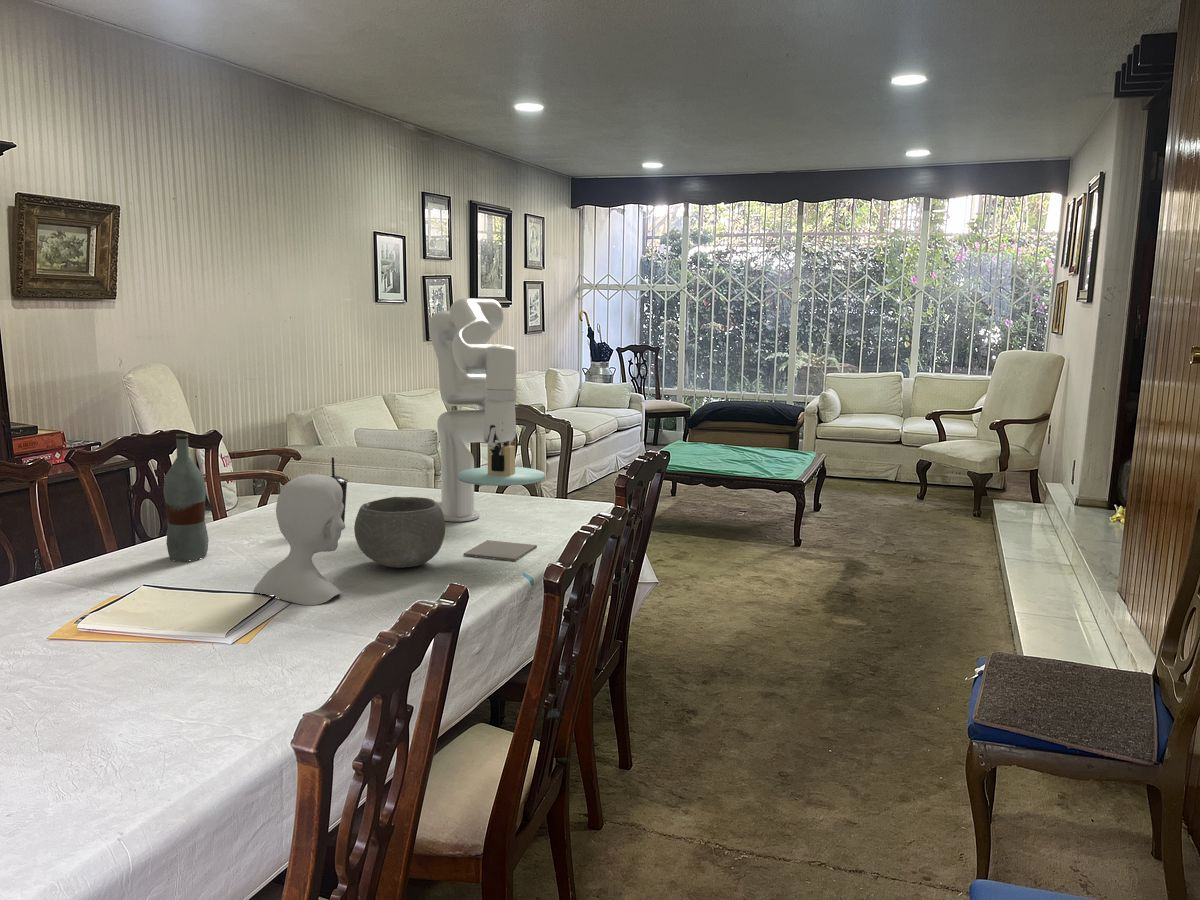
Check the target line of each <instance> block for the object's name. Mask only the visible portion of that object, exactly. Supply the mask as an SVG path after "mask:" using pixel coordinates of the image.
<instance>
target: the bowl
mask: <svg viewBox="0 0 1200 900" xmlns="http://www.w3.org/2000/svg"><path fill="white" fill-rule="evenodd" d="M436 502H437V501H435V500H434V499H431V498H428V497H420V496H417V497H416V496H391V497H386V498H381V499H375V500H371V501H368V502H365V503H363V504H362V505H361V506H360V507H359V509H358V512H357V515H356V517H355V520H354V537H355V541H356V544H357V547H358V548H359V549H360V551H361V552H362V553H363V555H364V556H365V557H367V558H369V559H371V560H372V561H373V562H375V563H377V564H378V565H381V566H384V567H388V568H397V569H398V568H413V567H418V566H420V565H424V564H426V563H427V562H429V561H431V560H432V559H433V558H434V557H435V556H436V555H437V554H438V553H439V551H440V550H441V547H442V544H443V543H444V542H443V541H444V539H445V535H446V521H445V520H444V515H443V512H442V510H441V508H440V506H439V505H438V504H437V503H436Z"/></svg>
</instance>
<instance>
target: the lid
mask: <svg viewBox="0 0 1200 900" xmlns="http://www.w3.org/2000/svg"><path fill="white" fill-rule="evenodd" d="M496 446H498V447H499V445H496ZM503 455H504V471H502V472H501V471H492V467H491V450H490V448H489V447H488V446H487V467H483V466H482V467H474V469H468V470H464V471H461V472H459V473H458V480H460V481H462V482H465V483H469V484H474V485H477V486H487V487H488V486H491V487H492V486H493V487H494V486H495V487H498V486H499V487H501V486H502V487H506V486H507V487H511V486H523V485H531V484H536V483H538V482H539V483H540V482H542V481H544V480H545V479H546V477H545V476H546V474H545V472H544V471H542V470H538V469H535V468H529V467H521V466H520V467H519V466H516V445H511V446H508V445H503Z"/></svg>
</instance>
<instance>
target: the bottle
mask: <svg viewBox="0 0 1200 900" xmlns="http://www.w3.org/2000/svg"><path fill="white" fill-rule="evenodd" d="M188 436H189V434H187V433H177V434H175V437H176V439H175V440H176V458H175V460H174V461H173V463H172V464H171V466H170V468H169V469H168V471H167V473H166V474H165V477H164V480H163V490H162V491H163V496H164V503H165V509H166V517H167V532H166V549H167V552H168V553H167V554H168V557H169V559H170V561H172V560H175V561H174V562H177V561H189V560H196V559H200V558H203V557H205V556H206V557H207V554H208V550H209V535H208V530H207V526H206V525H207V524H206V519H205V518H206V497H207V496H206V495H207V488H206V482H205V477H204V474H203V473H202V471H201V470H200V469H199V467H198V466H197V464H196V463H194V461H193V460H192V458H191V457H190V452H189V438H188ZM206 557H205V558H206ZM203 559H204V558H203ZM200 560H201V559H200ZM196 561H197V560H196Z"/></svg>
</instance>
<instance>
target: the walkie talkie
mask: <svg viewBox="0 0 1200 900" xmlns="http://www.w3.org/2000/svg"><path fill="white" fill-rule="evenodd" d="M329 476H330V477H332V478H334V479H335V480H336V481H337V482H338V483H339V484H340V486H341V488H342V491H343V499H342V503H343V504H344V509H343V512H342V515H341V518H342V520H343V523H344V524H345V519H346V518H345V517H346V503H347V489H348V482H349V480H348V478H345V477H342V476H339V475H336V474H335V457H334V456H333V457H331V475H329Z"/></svg>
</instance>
